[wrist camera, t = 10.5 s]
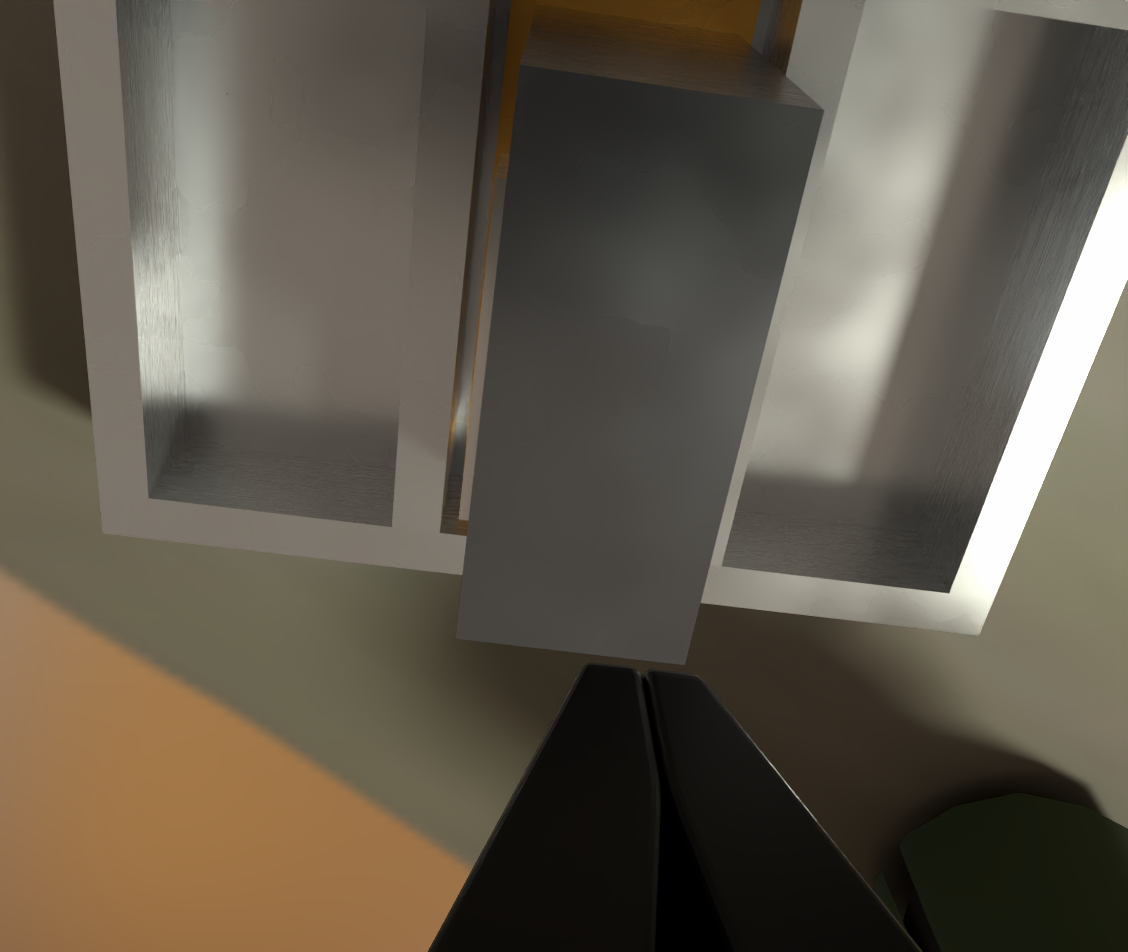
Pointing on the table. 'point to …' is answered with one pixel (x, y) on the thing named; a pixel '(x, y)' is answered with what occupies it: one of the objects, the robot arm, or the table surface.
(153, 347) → the rack
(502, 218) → the dark grey block
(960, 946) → the toy figurine
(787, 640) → the table surface
